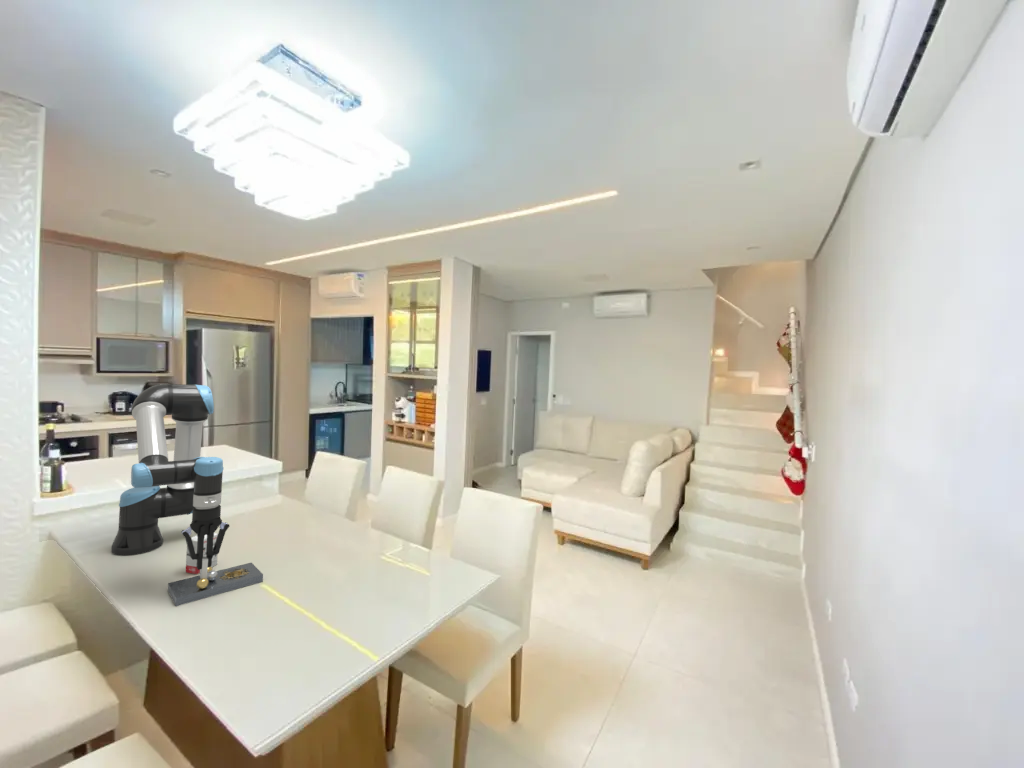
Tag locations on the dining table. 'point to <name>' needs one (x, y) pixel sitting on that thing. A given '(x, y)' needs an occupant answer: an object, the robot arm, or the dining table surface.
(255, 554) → the dining table surface
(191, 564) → the ink box
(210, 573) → the steel ball
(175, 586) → the plate
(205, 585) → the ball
